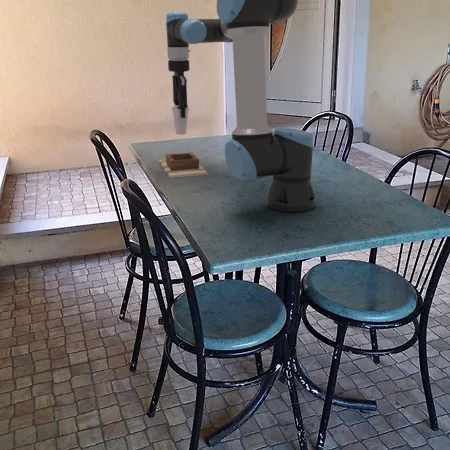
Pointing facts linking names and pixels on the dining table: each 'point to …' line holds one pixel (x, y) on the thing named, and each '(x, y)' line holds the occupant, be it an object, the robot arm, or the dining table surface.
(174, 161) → the socket board
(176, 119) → the smoothie
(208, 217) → the dining table surface
